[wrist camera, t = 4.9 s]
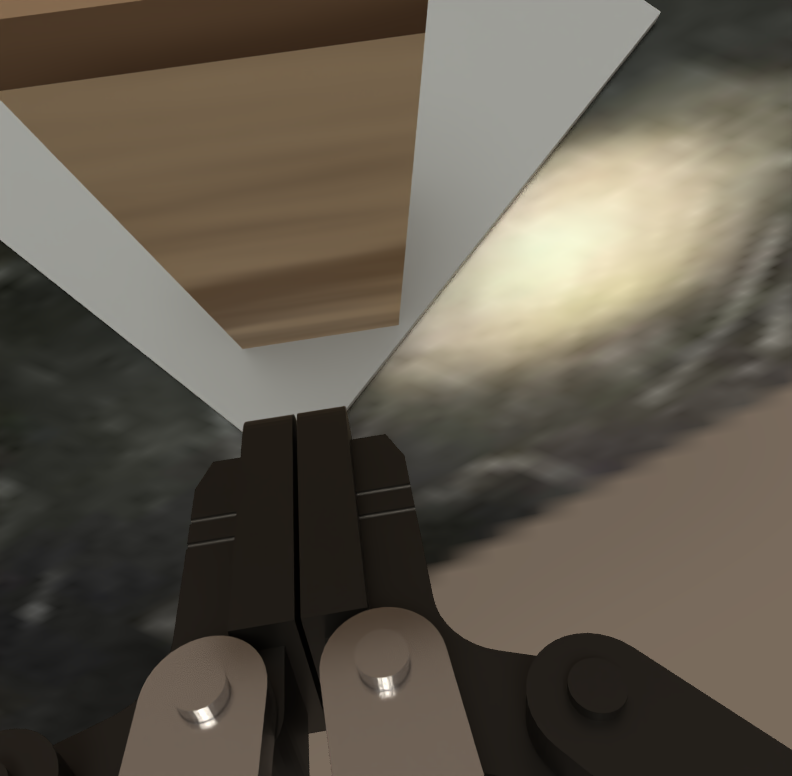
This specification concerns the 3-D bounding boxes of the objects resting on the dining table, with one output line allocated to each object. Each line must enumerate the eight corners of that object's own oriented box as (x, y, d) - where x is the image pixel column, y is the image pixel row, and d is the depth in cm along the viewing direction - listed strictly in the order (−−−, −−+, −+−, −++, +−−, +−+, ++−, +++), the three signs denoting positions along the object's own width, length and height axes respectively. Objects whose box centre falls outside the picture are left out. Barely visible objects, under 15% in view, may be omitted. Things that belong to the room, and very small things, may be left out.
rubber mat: (296, 473, 20) (295, 473, 20) (-91, 166, 21) (-103, 158, 21) (654, 22, 22) (660, 12, 22) (287, -233, 24) (284, -249, 23)
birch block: (398, 325, 20) (431, -39, 6) (242, 349, 20) (-69, 29, 6) (374, 178, 21) (356, -437, 7) (223, 200, 21) (-99, -389, 7)
